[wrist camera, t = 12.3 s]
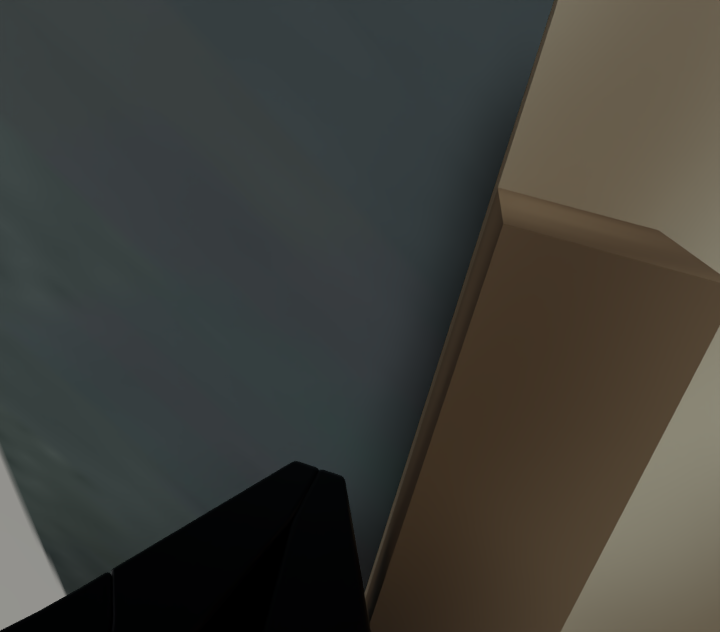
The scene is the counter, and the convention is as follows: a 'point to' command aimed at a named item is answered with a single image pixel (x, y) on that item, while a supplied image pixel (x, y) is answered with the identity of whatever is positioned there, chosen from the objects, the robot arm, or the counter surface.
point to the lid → (580, 355)
